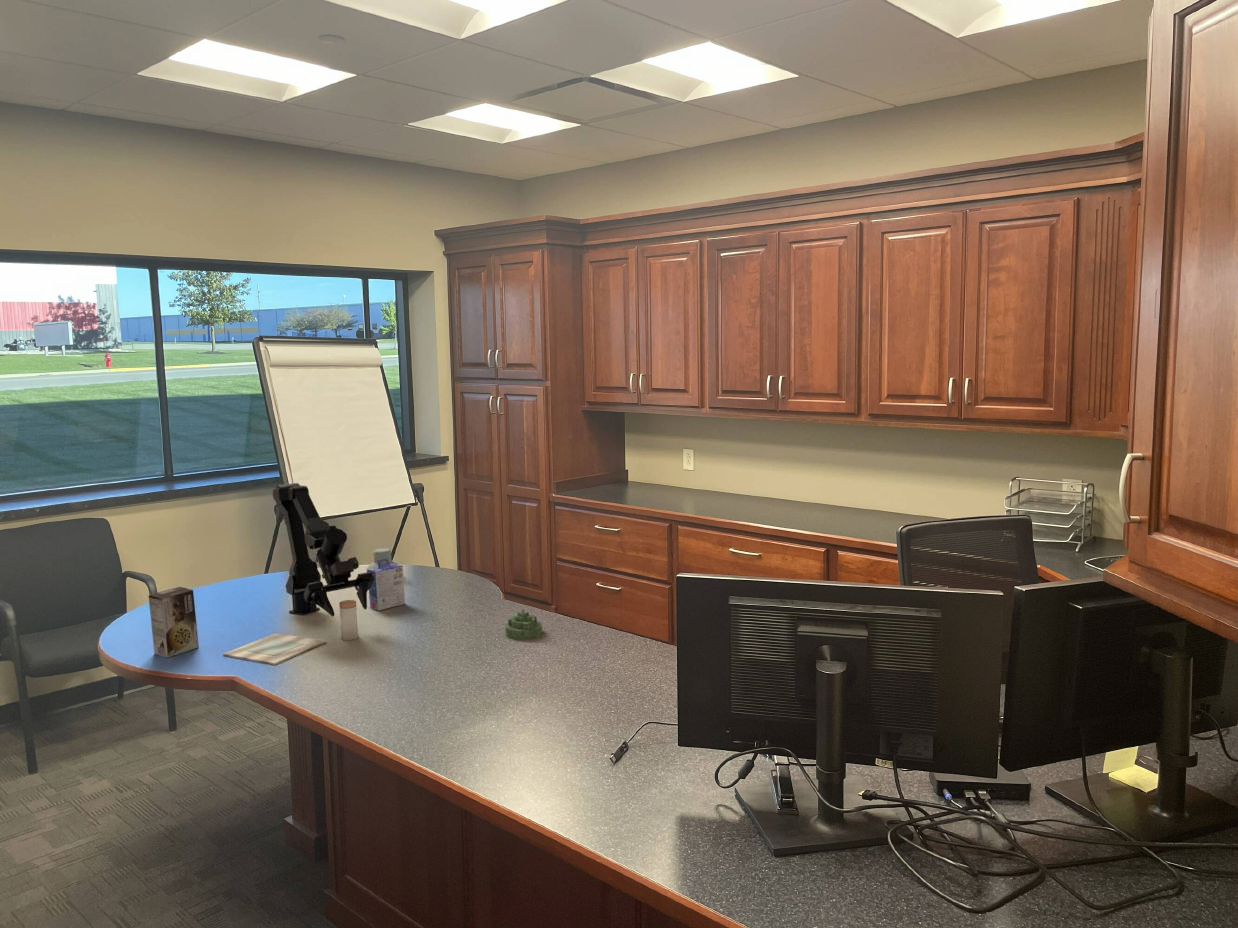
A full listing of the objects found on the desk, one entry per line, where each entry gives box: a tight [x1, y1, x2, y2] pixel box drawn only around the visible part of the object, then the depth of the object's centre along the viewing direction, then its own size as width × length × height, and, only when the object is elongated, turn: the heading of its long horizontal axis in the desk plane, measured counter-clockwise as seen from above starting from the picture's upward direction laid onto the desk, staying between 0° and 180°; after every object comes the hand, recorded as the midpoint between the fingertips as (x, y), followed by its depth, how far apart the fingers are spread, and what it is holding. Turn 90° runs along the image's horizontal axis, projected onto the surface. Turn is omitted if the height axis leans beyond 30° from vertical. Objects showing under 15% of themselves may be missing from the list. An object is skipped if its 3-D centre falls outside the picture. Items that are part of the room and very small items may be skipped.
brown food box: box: [148, 586, 200, 659], centre depth 237 cm, size 9×6×16 cm
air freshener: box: [366, 547, 398, 571], centre depth 308 cm, size 11×8×10 cm
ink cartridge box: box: [366, 558, 406, 611], centre depth 275 cm, size 10×6×14 cm, turn 136°
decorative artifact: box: [504, 608, 543, 641], centre depth 247 cm, size 10×7×10 cm
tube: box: [338, 599, 359, 641], centre depth 246 cm, size 4×4×10 cm
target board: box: [222, 632, 327, 666], centre depth 238 cm, size 18×18×1 cm
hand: (349, 612), depth 245 cm, fingers open, 9 cm apart
